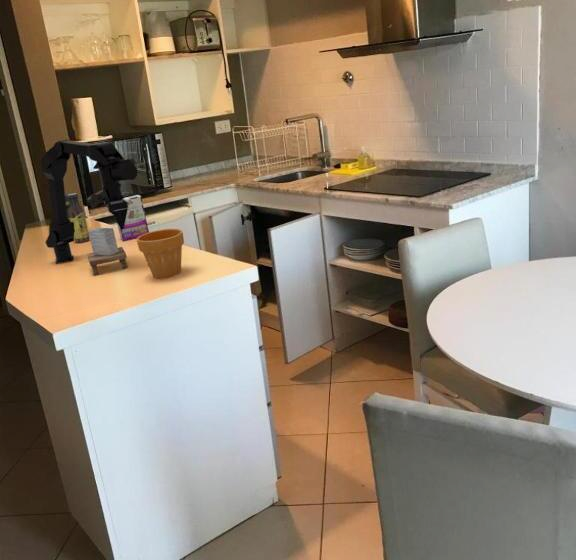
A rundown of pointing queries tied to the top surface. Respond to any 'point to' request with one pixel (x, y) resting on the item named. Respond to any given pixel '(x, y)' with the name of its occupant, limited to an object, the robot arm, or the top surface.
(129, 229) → the candy bar box
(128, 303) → the top surface
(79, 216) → the sauce bottle
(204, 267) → the top surface
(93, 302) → the top surface
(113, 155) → the robot arm
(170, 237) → the flower pot
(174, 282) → the top surface
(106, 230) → the medicine box
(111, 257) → the small brown stool
